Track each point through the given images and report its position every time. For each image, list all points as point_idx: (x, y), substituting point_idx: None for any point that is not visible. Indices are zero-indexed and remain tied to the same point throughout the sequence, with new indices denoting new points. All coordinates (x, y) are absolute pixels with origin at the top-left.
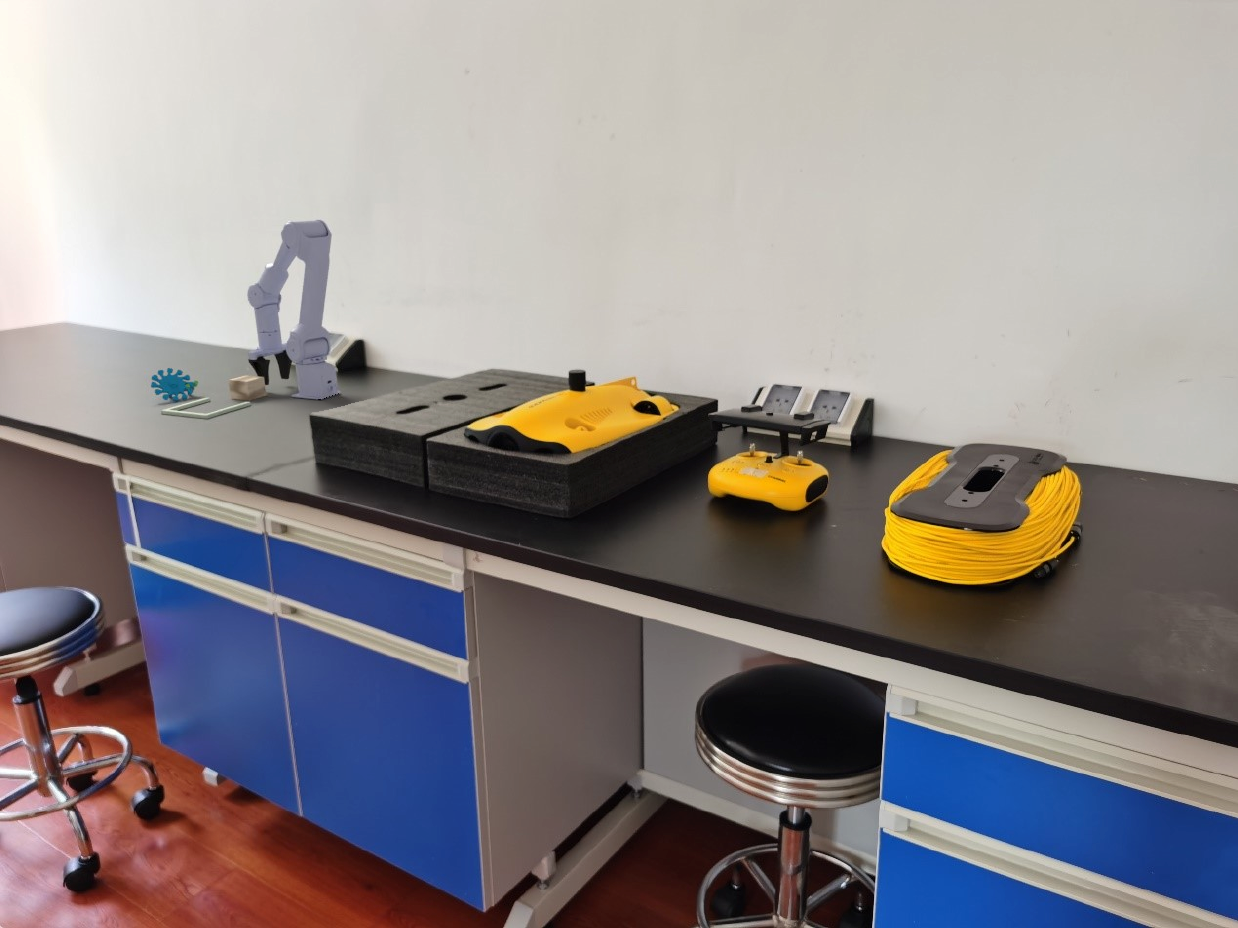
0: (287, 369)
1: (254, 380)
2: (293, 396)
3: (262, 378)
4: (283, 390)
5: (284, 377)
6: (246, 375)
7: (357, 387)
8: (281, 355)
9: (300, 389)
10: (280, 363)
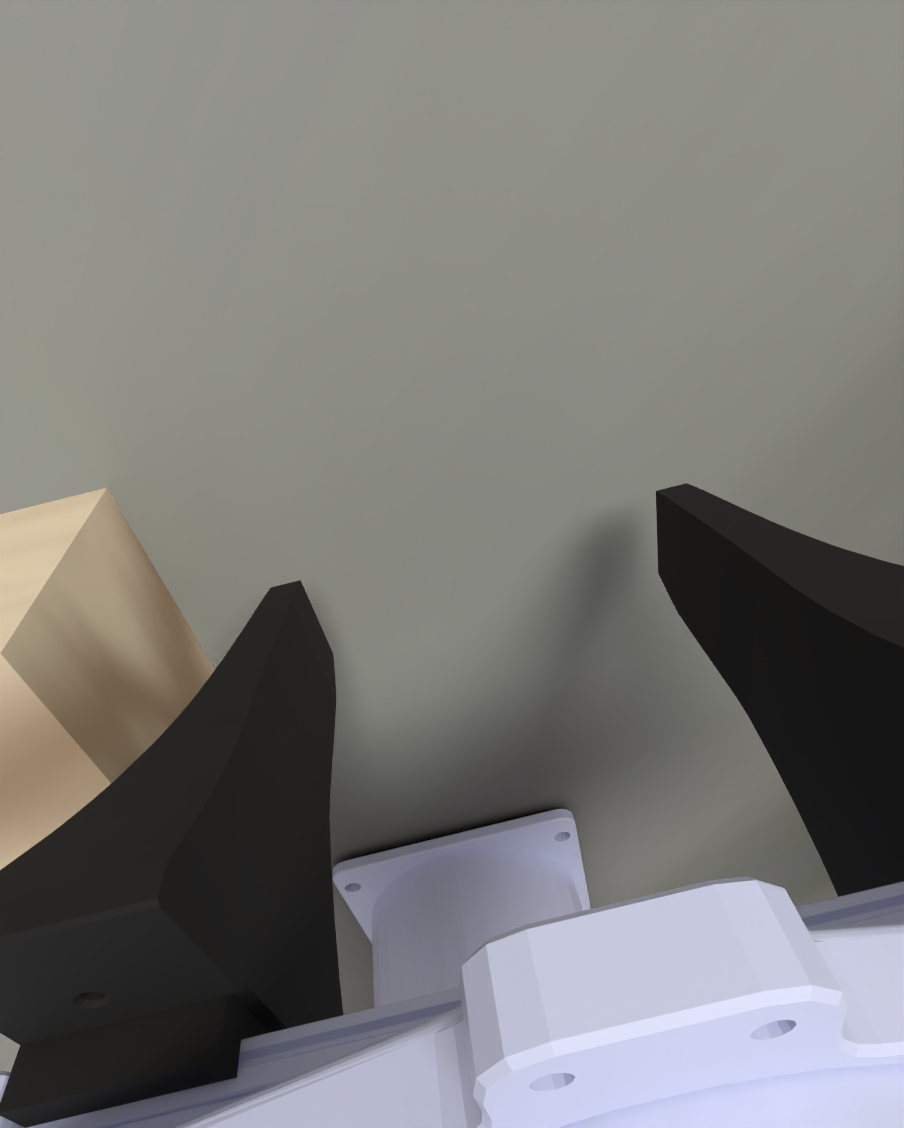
0: (726, 671)
1: None
2: (336, 882)
3: None
4: (462, 639)
5: (664, 552)
6: (5, 668)
7: (780, 879)
8: (881, 806)
9: (373, 964)
10: (782, 640)
